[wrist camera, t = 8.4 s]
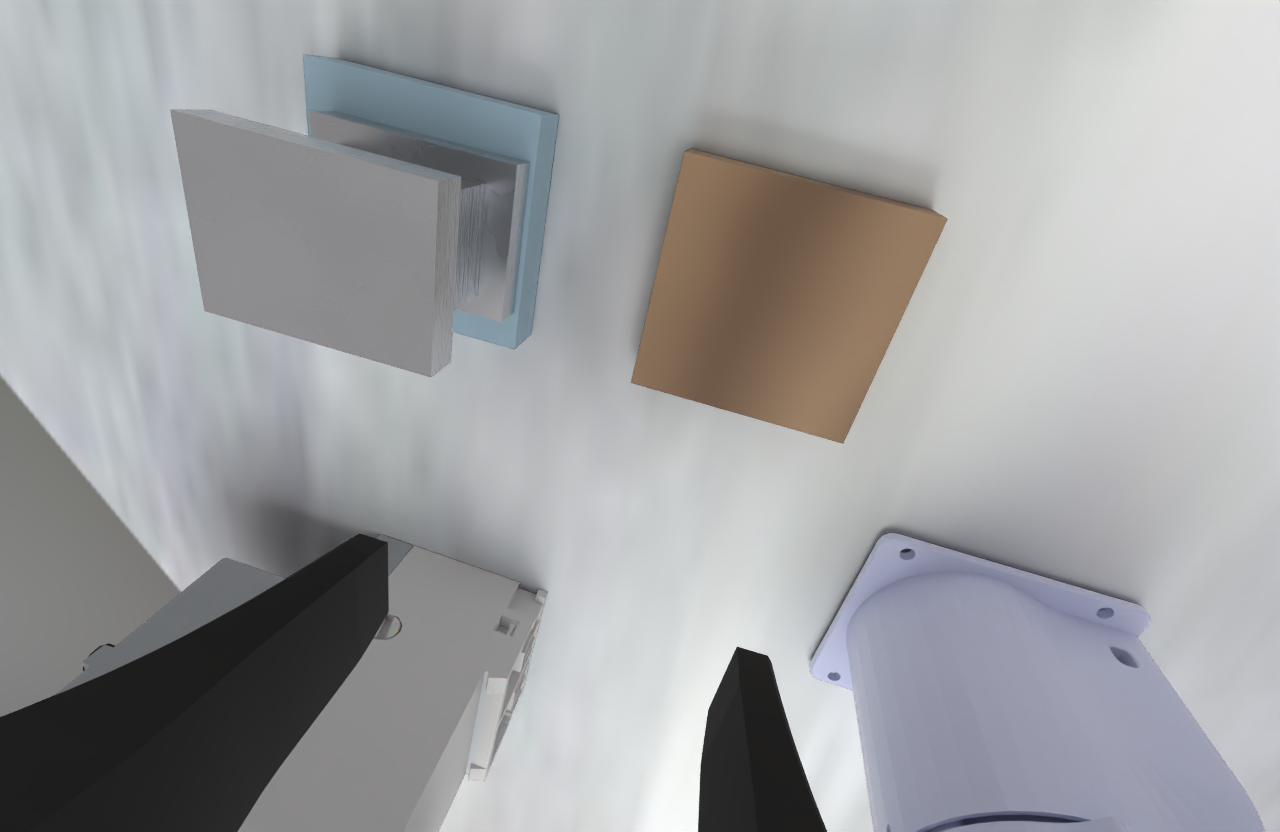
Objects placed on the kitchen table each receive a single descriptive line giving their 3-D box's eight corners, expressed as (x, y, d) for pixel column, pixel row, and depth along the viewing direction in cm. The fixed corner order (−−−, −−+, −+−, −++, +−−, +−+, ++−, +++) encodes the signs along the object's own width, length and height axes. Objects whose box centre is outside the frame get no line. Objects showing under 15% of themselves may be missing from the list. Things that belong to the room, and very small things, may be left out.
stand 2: (933, 210, 16) (947, 218, 15) (838, 421, 20) (843, 443, 18) (691, 148, 17) (684, 151, 15) (639, 365, 20) (631, 382, 19)
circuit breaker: (257, 491, 27) (-228, 849, 14) (547, 591, 26) (326, 1070, 13) (268, 600, 30) (-106, 965, 17) (522, 691, 30) (330, 1141, 17)
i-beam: (333, 110, 17) (170, 109, 12) (530, 162, 16) (438, 181, 12) (340, 263, 19) (204, 311, 14) (514, 312, 18) (430, 377, 14)
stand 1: (559, 115, 17) (541, 115, 16) (530, 334, 20) (514, 349, 19) (338, 58, 17) (303, 53, 16) (347, 282, 21) (318, 293, 19)
